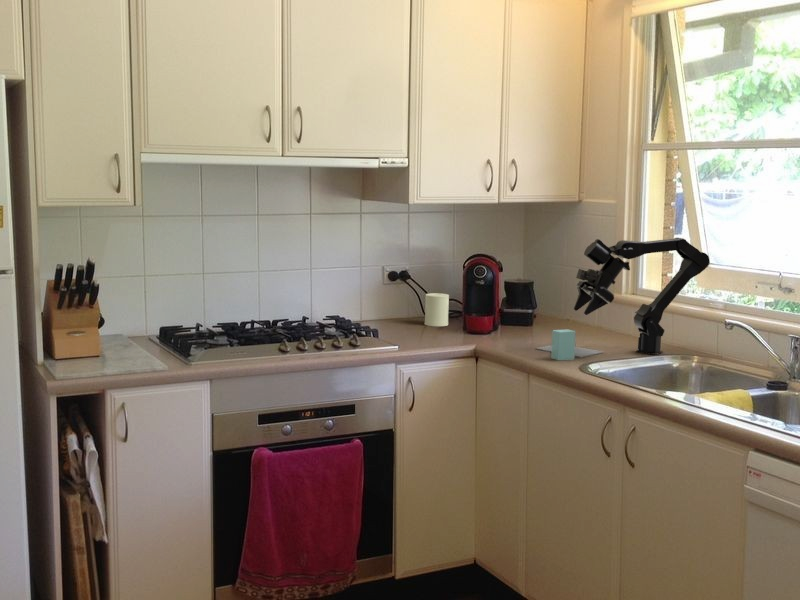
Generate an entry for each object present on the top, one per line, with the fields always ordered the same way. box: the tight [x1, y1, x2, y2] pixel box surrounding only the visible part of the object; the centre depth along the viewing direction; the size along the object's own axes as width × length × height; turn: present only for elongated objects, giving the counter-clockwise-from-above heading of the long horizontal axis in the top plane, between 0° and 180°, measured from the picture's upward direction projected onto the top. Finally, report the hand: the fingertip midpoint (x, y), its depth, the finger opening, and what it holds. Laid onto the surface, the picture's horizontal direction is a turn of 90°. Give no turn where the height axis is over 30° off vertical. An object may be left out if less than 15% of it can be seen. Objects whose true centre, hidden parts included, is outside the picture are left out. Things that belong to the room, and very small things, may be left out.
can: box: [424, 292, 450, 327], centre depth 348 cm, size 9×9×12 cm
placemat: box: [535, 344, 604, 359], centre depth 301 cm, size 18×13×1 cm
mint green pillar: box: [550, 328, 577, 361], centre depth 288 cm, size 4×6×9 cm, turn 114°
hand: (579, 312), depth 296 cm, fingers open, 9 cm apart
